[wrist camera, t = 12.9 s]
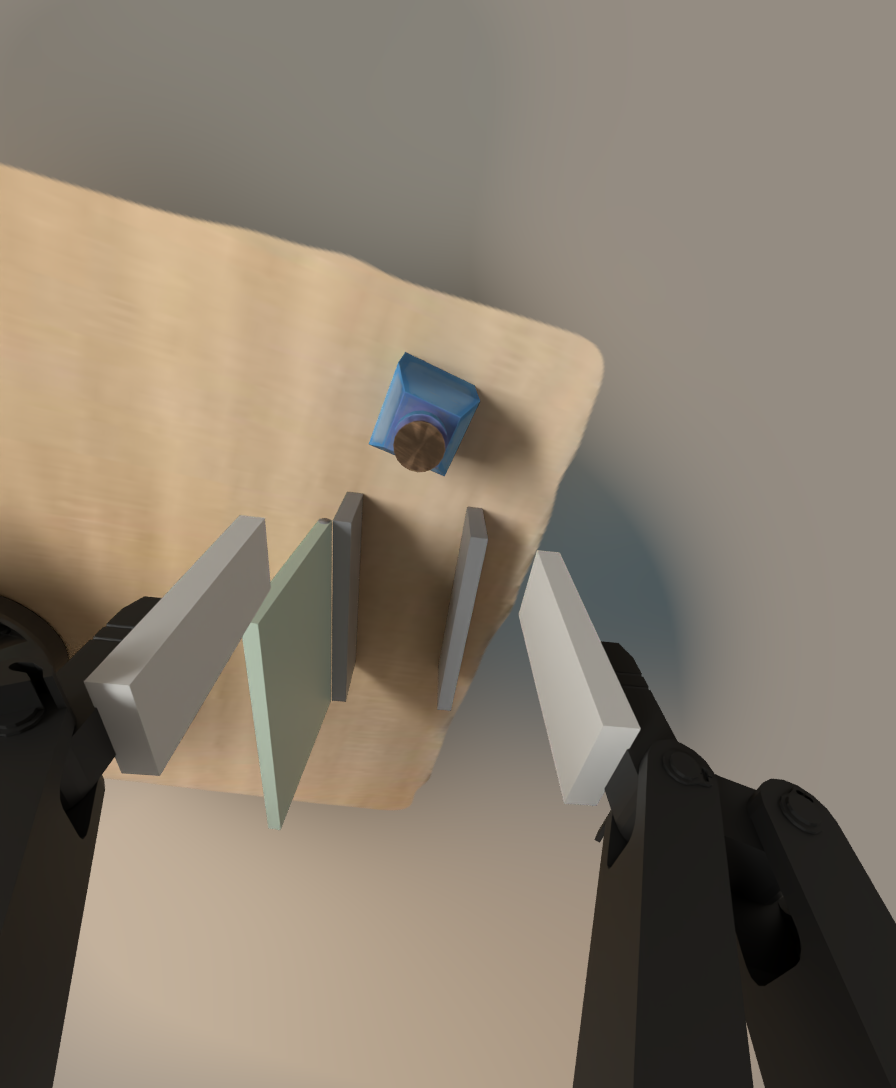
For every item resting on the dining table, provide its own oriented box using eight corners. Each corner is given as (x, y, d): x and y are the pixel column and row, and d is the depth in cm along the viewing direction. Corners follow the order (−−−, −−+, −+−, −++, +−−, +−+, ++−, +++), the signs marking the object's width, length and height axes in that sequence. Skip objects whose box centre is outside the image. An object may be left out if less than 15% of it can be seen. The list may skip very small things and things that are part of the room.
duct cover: (331, 698, 46) (322, 697, 46) (332, 519, 35) (320, 517, 35) (280, 830, 34) (268, 828, 34) (258, 623, 23) (240, 621, 23)
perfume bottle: (474, 385, 35) (487, 421, 25) (444, 451, 38) (444, 508, 28) (405, 352, 34) (389, 375, 24) (379, 422, 37) (354, 471, 26)
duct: (343, 659, 51) (331, 700, 46) (347, 491, 40) (332, 520, 35) (450, 669, 52) (450, 710, 47) (482, 508, 41) (488, 539, 36)
